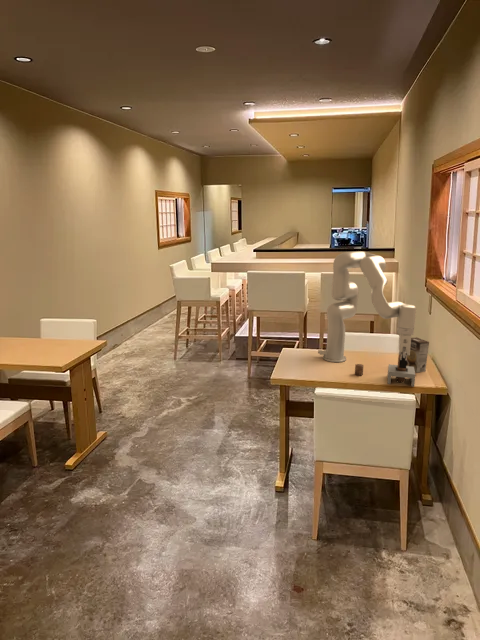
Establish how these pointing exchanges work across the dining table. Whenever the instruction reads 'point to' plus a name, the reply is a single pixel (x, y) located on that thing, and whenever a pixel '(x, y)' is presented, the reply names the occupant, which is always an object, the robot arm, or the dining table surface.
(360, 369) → the short pin
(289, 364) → the dining table surface
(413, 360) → the coffee box
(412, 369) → the bridge
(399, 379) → the long pin
